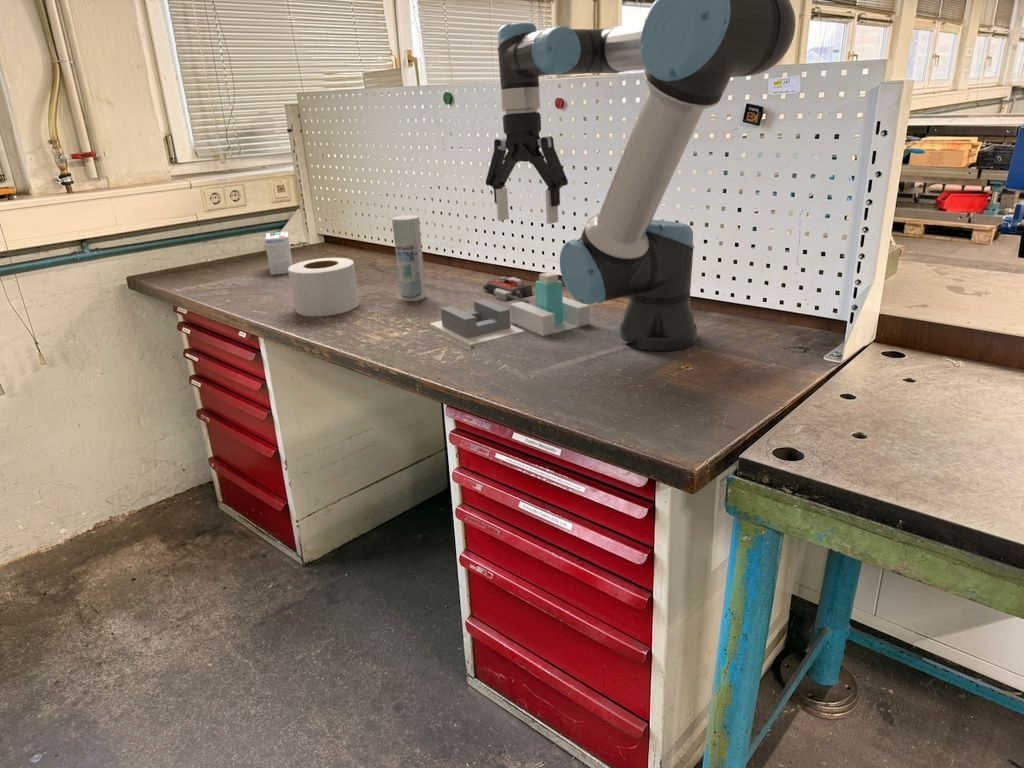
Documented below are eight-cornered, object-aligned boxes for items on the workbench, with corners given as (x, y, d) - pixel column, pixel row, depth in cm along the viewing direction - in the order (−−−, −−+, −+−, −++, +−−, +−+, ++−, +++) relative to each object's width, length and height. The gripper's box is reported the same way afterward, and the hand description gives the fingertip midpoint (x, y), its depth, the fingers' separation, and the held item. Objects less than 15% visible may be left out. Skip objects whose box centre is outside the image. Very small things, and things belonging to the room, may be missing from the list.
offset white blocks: (589, 328, 145) (589, 305, 144) (543, 340, 140) (542, 316, 138) (555, 315, 155) (555, 293, 153) (511, 326, 149) (509, 304, 147)
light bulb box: (271, 267, 214) (264, 232, 210) (293, 265, 216) (287, 230, 212) (270, 275, 205) (264, 238, 201) (294, 272, 207) (288, 236, 203)
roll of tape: (311, 320, 160) (304, 275, 156) (285, 308, 171) (277, 265, 167) (370, 306, 169) (365, 263, 165) (342, 295, 180) (336, 254, 176)
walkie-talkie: (476, 294, 177) (525, 309, 162) (475, 277, 175) (524, 291, 160) (503, 287, 182) (553, 301, 167) (502, 270, 180) (553, 284, 165)
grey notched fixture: (525, 335, 143) (524, 312, 141) (471, 349, 137) (469, 325, 135) (481, 315, 157) (479, 294, 155) (430, 327, 151) (427, 305, 149)
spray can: (396, 301, 172) (387, 219, 164) (406, 294, 178) (397, 215, 170) (421, 301, 171) (413, 219, 163) (430, 294, 176) (422, 215, 169)
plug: (562, 323, 146) (562, 274, 142) (547, 327, 144) (546, 277, 140) (551, 318, 149) (550, 271, 145) (536, 322, 147) (535, 274, 143)
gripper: (583, 107, 131) (586, 221, 138) (489, 114, 147) (496, 216, 154) (558, 109, 126) (563, 227, 133) (463, 116, 142) (472, 221, 149)
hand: (527, 221), depth 144 cm, fingers open, 13 cm apart
